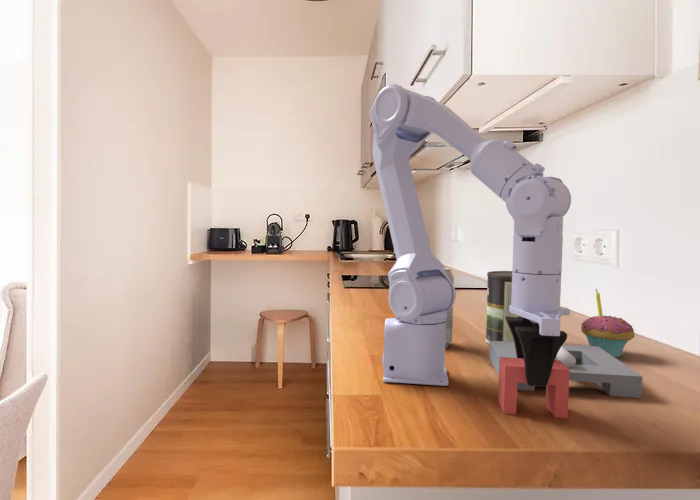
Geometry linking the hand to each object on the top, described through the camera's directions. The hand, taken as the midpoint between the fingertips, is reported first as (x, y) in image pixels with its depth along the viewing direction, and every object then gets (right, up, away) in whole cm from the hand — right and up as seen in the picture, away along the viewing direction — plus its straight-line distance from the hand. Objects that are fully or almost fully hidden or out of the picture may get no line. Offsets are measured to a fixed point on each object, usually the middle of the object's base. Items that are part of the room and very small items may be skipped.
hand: (532, 379), depth 58 cm
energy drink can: (-6, -2, +32) cm, 32 cm away
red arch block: (0, -4, 0) cm, 4 cm away
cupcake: (+24, -3, +27) cm, 36 cm away
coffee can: (+9, -3, +33) cm, 34 cm away
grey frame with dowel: (+9, -3, +14) cm, 17 cm away
